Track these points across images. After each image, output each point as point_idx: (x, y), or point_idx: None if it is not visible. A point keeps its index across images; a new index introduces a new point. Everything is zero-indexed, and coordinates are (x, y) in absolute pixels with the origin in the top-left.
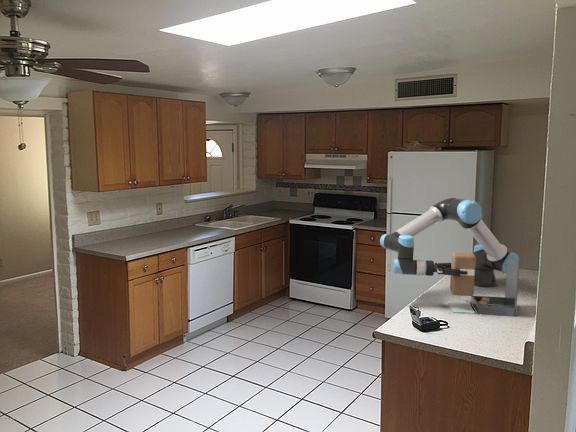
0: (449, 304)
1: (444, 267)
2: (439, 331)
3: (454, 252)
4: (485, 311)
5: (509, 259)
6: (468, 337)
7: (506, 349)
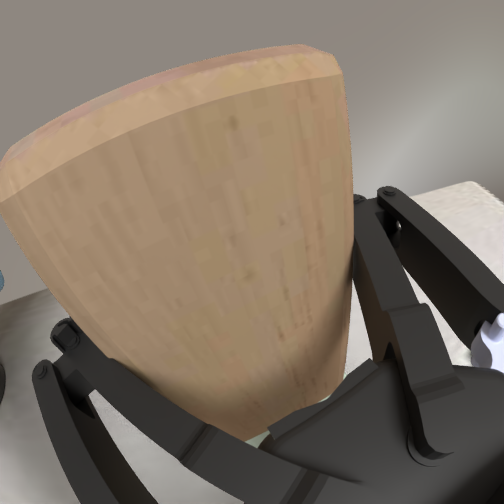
0: None
1: (430, 322)
2: None
3: (81, 106)
4: None
5: None
6: (489, 252)
7: (455, 199)
